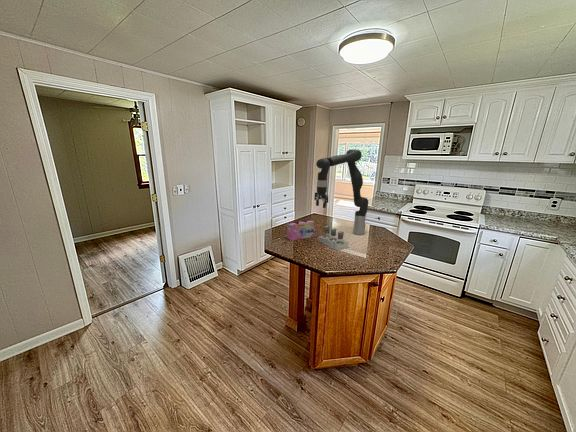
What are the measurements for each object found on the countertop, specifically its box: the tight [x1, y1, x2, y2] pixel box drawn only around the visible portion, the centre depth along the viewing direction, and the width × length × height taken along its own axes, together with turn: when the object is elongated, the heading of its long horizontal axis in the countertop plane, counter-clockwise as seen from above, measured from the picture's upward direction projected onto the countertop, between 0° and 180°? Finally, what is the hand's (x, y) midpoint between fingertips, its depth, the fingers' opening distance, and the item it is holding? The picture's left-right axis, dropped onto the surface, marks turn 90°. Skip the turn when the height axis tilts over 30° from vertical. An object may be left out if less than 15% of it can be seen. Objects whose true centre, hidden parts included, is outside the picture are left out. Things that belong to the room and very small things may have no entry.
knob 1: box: [324, 225, 331, 234], centre depth 189 cm, size 4×4×5 cm
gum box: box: [286, 219, 315, 242], centre depth 197 cm, size 24×8×14 cm, turn 116°
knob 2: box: [337, 230, 344, 240], centre depth 175 cm, size 4×4×5 cm
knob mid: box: [330, 227, 337, 237], centre depth 182 cm, size 4×4×5 cm
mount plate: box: [317, 233, 350, 251], centre depth 184 cm, size 12×22×4 cm, turn 30°
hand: (320, 206), depth 181 cm, fingers open, 8 cm apart
